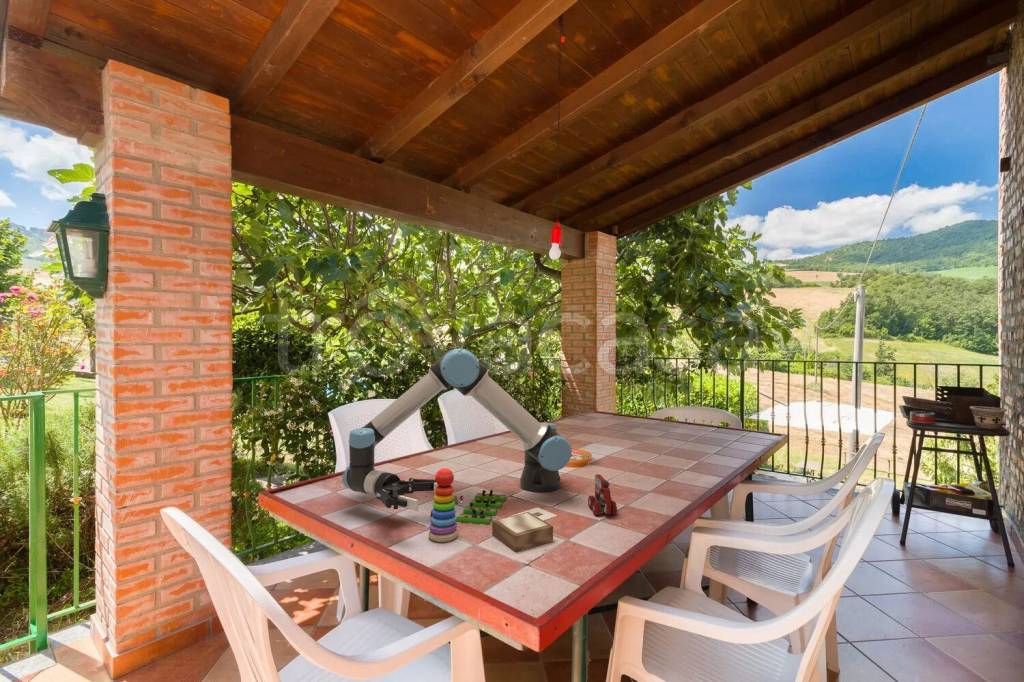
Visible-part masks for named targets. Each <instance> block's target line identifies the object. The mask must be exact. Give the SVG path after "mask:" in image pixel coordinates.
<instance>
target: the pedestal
mask: <svg viewBox="0 0 1024 682" xmlns="http://www.w3.org/2000/svg"><path fill="white" fill-rule="evenodd" d="M517 514H518V513H517ZM513 515H514V516H512V515H509V516H510V517H508V516H506V517H501V518H498V519H492V521H491V530H492V531H491V534H492V535H491V536H493V537H494V538H495V539H497V540H498V541H500V542H501V543H502V544H503V545H505V546H506V547H508V548H509V549H510V550H512V551H513V552H515V553H517V552H520V551H523V550H527V549H530V548H534V547H537V546H541V545H544V544H548V543H552V542H554V526H553V525H552V524H550V523H548V522H546V520H545V521H543V520H541V519H539V518H538V517H536V516H534V515H533V514H531V513H529V512H526V513H522V514H518V515H515V514H513Z"/></svg>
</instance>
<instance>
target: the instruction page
mask: <svg viewBox="0 0 1024 682" xmlns="http://www.w3.org/2000/svg"><path fill="white" fill-rule="evenodd" d="M526 512H529V513H531V514H533V515H534V516H536V517H538V518H539V519H541V520H543V521H545V522H546V521H548V520H550V519H553V518H555V517H558V515H557V514H554V513H552V512H550V511H547V510H545V509H542V508H541V507H534V508H532V509H527V510H524V511H522V512H518V513H516V514H515V513H514V514H512V515H508V516H507V517H510V516H514V515H518V514H522V513H526Z"/></svg>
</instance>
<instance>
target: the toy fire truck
mask: <svg viewBox="0 0 1024 682" xmlns="http://www.w3.org/2000/svg"><path fill="white" fill-rule="evenodd" d="M594 482H595V487H594V495H589V496H588V498H587V504H588V508H589V509H590V510H592V514H593V515H594V516H599V515H600V514H601V513H605V515H612V516H615V515H617V513H618V512H617V511H618V507H617V503H616V501H615V500H613V499H612V497H611V495H612V494H611V490H610V482H609V481H608V480H606V479H605V478H604V476H603V475H602V474H600V473H598V474H595V476H594Z"/></svg>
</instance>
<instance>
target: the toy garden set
mask: <svg viewBox="0 0 1024 682" xmlns="http://www.w3.org/2000/svg"><path fill="white" fill-rule="evenodd" d="M486 491H487V490H484V489H483V490H482V491H481V492H478V493H476V495H475V496H474V499H471V501H469V505H468V506H465V508H464V509H463V511H462V513H459V515H456V517H457V520H456V522H461V524H468V523H472V524H471V525H480V524H484V525H483V526H489V525H490V524H491V523H492V521H493V517H492V516H497V514H498V509H499V510H501V508H500V507H502V506H503V503H502V502H504V503H505V501H506V500H507V495H506V494H496V493H495V494H494V491H493V489H491V490H489V493H486ZM453 495H454V494H453ZM463 496H464V495H460V496H459V499H458V495H456V494H455V495H454V499H453V500H454V502H455V505H458V502H459V501H458V500H460V499H461V501H462V500H463V501H464V497H463ZM462 497H463V498H462ZM505 499H506V500H505ZM461 501H460V502H461ZM463 501H462V502H463ZM432 510H433V508H432V509H431V511H430V518H431V517H432V516H433V515H432ZM496 513H497V514H496ZM490 522H491V523H490Z"/></svg>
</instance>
